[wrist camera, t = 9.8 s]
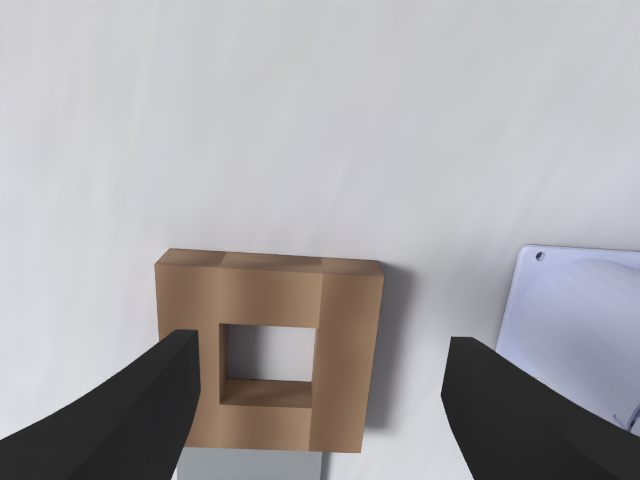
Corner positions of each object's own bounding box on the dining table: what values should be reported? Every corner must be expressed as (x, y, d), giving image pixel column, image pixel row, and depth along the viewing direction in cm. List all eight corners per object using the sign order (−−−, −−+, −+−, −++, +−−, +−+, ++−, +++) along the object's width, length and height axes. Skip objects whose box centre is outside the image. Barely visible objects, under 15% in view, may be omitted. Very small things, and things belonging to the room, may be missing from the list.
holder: (377, 260, 22) (384, 277, 20) (356, 424, 25) (360, 453, 23) (169, 248, 21) (154, 264, 19) (177, 417, 25) (165, 446, 23)
